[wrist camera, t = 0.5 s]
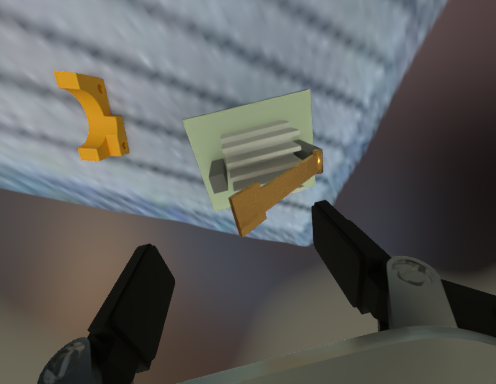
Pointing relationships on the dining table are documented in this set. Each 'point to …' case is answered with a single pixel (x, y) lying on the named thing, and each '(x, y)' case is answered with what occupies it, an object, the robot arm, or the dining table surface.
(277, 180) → the strap
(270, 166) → the board
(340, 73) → the dining table surface
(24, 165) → the dining table surface
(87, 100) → the pipe clamp
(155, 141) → the dining table surface
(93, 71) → the dining table surface
